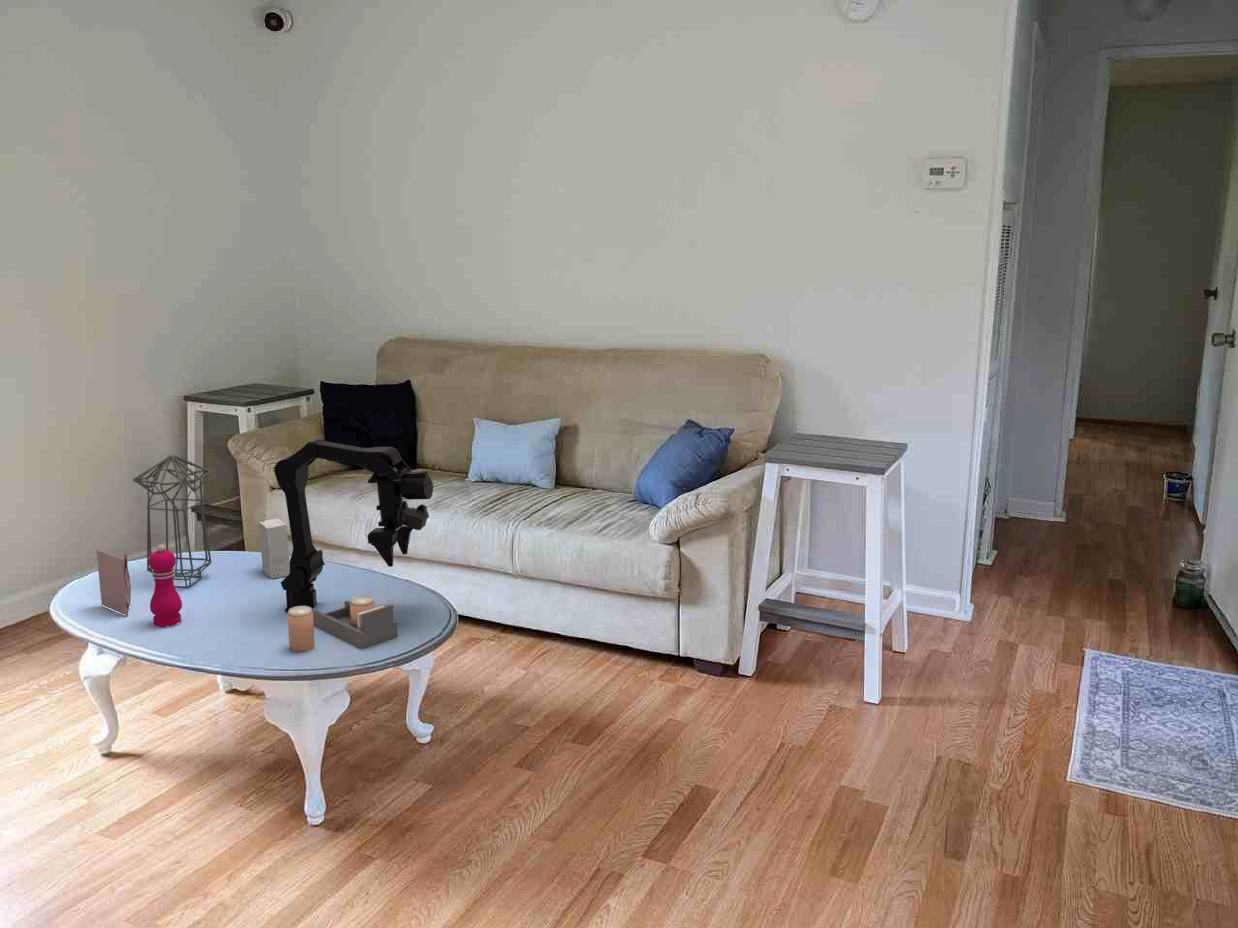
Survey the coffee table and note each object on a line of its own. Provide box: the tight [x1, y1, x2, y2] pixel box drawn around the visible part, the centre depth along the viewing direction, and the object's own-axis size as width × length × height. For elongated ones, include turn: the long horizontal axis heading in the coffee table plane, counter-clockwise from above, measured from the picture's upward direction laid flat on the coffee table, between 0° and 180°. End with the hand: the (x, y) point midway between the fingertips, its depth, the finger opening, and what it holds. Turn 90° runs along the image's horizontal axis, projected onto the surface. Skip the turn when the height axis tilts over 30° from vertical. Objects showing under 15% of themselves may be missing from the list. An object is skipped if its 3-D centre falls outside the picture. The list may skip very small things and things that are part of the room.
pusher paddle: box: [357, 605, 385, 631], centre depth 249 cm, size 2×7×7 cm, turn 139°
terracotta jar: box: [286, 606, 316, 653], centre depth 244 cm, size 6×6×10 cm
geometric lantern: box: [132, 454, 214, 589], centre depth 283 cm, size 16×16×35 cm
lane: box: [312, 599, 398, 650], centre depth 254 cm, size 20×10×9 cm, turn 49°
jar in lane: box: [350, 595, 376, 629], centre depth 252 cm, size 6×6×9 cm
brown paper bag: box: [95, 545, 132, 617], centre depth 265 cm, size 11×7×15 cm, turn 21°
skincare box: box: [258, 518, 291, 580], centre depth 293 cm, size 8×6×15 cm
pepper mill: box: [149, 544, 183, 628], centre depth 257 cm, size 7×7×20 cm
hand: (397, 560), depth 262 cm, fingers open, 9 cm apart
